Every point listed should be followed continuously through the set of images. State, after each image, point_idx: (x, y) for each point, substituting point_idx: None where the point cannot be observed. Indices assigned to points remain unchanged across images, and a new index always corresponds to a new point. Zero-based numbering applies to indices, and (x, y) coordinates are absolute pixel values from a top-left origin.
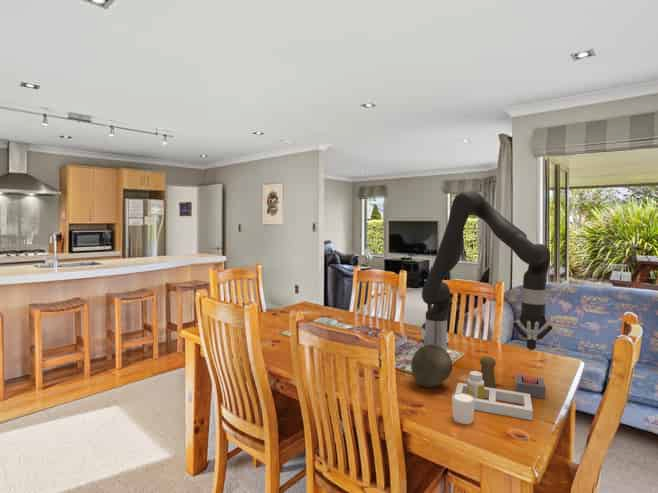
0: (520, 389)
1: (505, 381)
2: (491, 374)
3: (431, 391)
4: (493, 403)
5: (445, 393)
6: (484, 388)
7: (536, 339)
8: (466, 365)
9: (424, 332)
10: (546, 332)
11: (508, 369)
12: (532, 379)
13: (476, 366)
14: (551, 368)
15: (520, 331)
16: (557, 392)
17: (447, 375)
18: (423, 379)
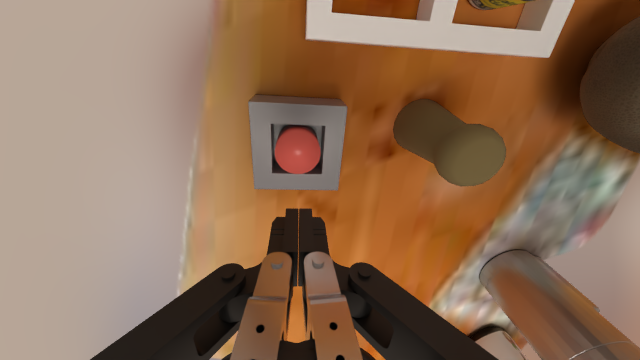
0: (330, 101)
1: (357, 184)
2: (435, 121)
3: (617, 17)
4: None
5: (573, 17)
6: (466, 33)
7: (263, 263)
8: (440, 248)
9: (525, 357)
10: (150, 330)
11: (337, 259)
12: (290, 143)
13: (415, 250)
14: None
15: (402, 303)
16: (219, 159)
17: (632, 31)
18: None
